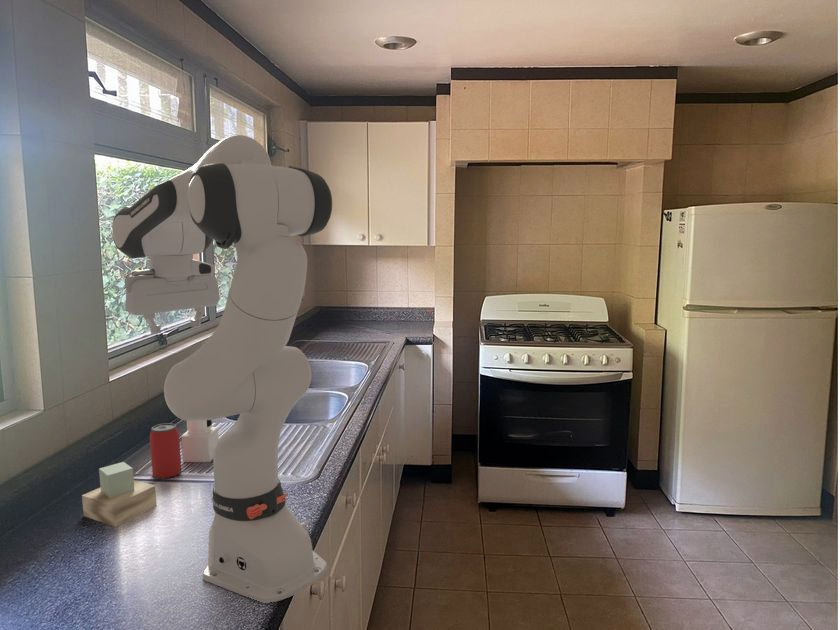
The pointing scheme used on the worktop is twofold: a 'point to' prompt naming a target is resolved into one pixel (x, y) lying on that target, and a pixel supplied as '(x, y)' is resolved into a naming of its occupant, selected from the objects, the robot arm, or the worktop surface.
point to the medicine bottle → (199, 441)
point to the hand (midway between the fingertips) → (176, 330)
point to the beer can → (165, 450)
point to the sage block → (116, 479)
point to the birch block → (119, 504)
